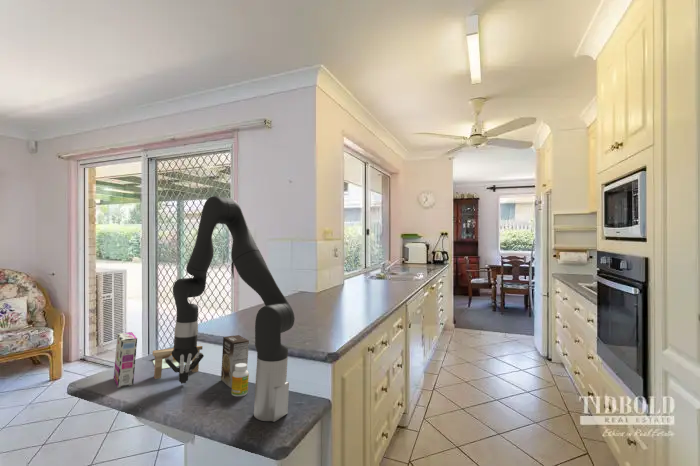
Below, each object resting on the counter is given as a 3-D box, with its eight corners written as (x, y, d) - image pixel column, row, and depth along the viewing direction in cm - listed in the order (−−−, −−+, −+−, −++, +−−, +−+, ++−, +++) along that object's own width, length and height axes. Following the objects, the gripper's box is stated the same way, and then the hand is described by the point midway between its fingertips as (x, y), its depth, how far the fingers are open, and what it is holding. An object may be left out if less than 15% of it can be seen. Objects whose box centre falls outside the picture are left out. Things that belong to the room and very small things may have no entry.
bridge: (201, 371, 133) (202, 346, 134) (151, 379, 123) (153, 352, 123) (199, 368, 136) (200, 344, 136) (150, 376, 125) (152, 350, 126)
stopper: (180, 356, 149) (181, 350, 149) (155, 359, 143) (155, 354, 143) (179, 354, 151) (180, 349, 151) (154, 358, 145) (154, 352, 145)
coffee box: (220, 380, 125) (222, 336, 126) (236, 376, 129) (239, 334, 130) (229, 388, 118) (232, 342, 119) (247, 384, 123) (249, 339, 123)
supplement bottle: (242, 397, 112) (244, 368, 112) (228, 395, 113) (229, 366, 113) (250, 391, 117) (252, 363, 117) (236, 389, 118) (238, 361, 118)
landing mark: (189, 364, 139) (189, 364, 139) (156, 370, 132) (156, 369, 132) (183, 356, 149) (183, 356, 149) (152, 360, 142) (152, 360, 142)
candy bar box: (134, 385, 118) (137, 338, 118) (117, 388, 114) (121, 340, 115) (129, 375, 126) (132, 331, 127) (113, 378, 123) (116, 333, 124)
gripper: (203, 329, 127) (200, 375, 126) (163, 333, 119) (160, 382, 118) (208, 333, 121) (205, 382, 120) (167, 338, 113) (163, 390, 112)
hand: (183, 382), depth 119 cm, fingers closed
